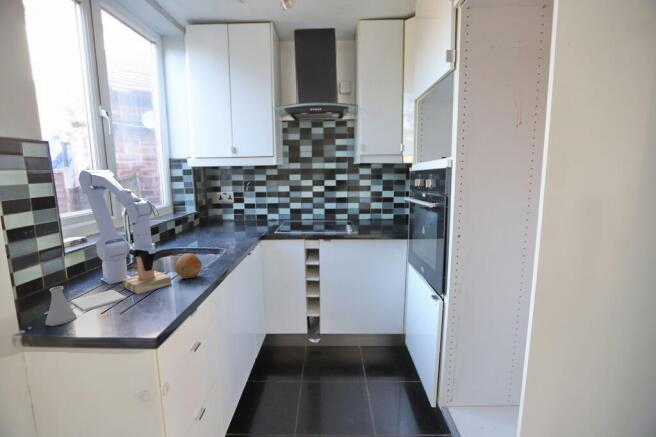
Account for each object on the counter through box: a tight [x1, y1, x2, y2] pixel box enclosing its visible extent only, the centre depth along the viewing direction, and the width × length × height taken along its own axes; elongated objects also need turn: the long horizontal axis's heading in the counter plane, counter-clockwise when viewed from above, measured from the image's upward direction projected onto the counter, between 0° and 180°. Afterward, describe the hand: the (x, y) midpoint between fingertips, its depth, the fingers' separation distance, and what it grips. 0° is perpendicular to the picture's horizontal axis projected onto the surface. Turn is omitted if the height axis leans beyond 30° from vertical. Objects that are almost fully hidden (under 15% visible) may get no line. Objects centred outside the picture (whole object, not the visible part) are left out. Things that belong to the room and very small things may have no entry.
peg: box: [135, 256, 155, 281], centre depth 119 cm, size 4×4×9 cm
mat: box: [70, 289, 127, 312], centre depth 107 cm, size 12×12×1 cm
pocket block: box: [122, 270, 172, 295], centre depth 120 cm, size 12×12×3 cm
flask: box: [45, 285, 77, 327], centre depth 92 cm, size 7×7×10 cm
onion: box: [174, 253, 202, 279], centre depth 127 cm, size 10×10×10 cm
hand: (145, 269), depth 119 cm, fingers closed on peg, 4 cm apart
